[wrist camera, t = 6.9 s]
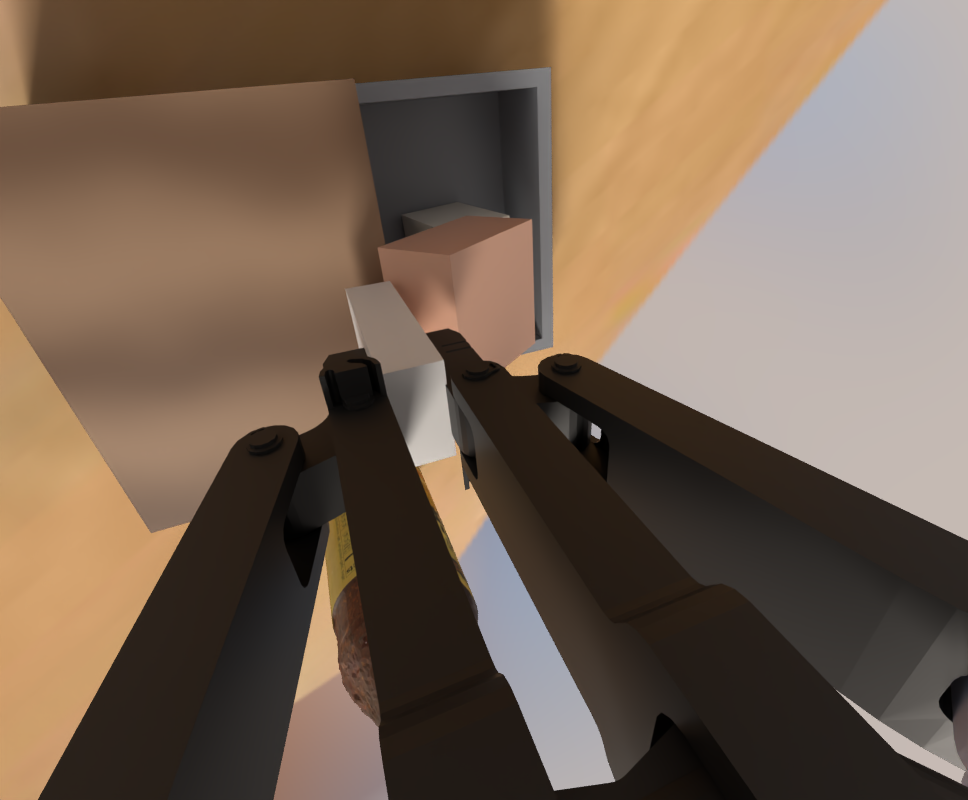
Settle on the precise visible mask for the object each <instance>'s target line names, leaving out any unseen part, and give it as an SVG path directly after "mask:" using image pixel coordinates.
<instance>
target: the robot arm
mask: <svg viewBox="0 0 968 800" xmlns="http://www.w3.org/2000/svg"><path fill="white" fill-rule="evenodd" d="M345 290H346V295H347V299H348V303H349V308H350V312H351V316H352V320H353V325H354V329H355V333H356V338H357V342H358V346H359V349H355V350H350V351H345V352H341V353H336V354H331V355H328V357H327V358H326V360H325V361H324V363H323V369H322V370H321V371H320V373H319V380H320V384H321V387H322V391H323V394H324V398H325V401H326V404H327V408H328V412H329V414H328V416H327V418H326V419H325V420H324V421H323V422H322V423H320V424H319V425H318V426H316V427H315V428H313V429H311V430H309V431H307V432H305V433H302V434H300V435H299V434H298V432H297V431H296V430H295V429H294V428H293V427H289V426H286V425H273V426H268V427H262V428H259V429H257V430H254V431H251V432H249V433H248V434H247V435H245V436H244V437H242V438H241V439H239V440H238V441H237V442H236V443H235V444H234V445H233V447H232V448H231V450H230V451H229V453H228V455H227V457H226V459H225V460H224V462H223V464H222V466H221V468H220V470H219V471H218V473H217V475H216V477H215V479H214V480H213V482H212V484H211V486H210V488H209V490H208V491H207V493H206V495H205V497H204V499H203V500H202V502H201V504H200V506H199V508H198V510H197V511H196V513H195V515H194V517H193V519H192V520H191V522H190V524H189V526H188V528H187V530H186V531H185V533H184V535H183V537H182V539H181V540H180V542H179V544H178V546H177V548H176V550H175V551H174V553H173V555H172V557H171V559H170V560H169V562H168V564H167V566H166V568H165V570H164V571H163V573H162V575H161V577H160V579H159V580H158V582H157V584H156V586H155V588H154V590H153V591H152V593H151V595H150V597H149V599H148V600H147V602H146V604H145V606H144V608H143V610H142V611H141V613H140V615H139V617H138V619H137V620H136V622H135V624H134V626H133V628H132V630H131V631H130V633H129V635H128V637H127V639H126V640H125V642H124V644H123V646H122V648H121V650H120V651H119V653H118V655H117V657H116V659H115V660H114V662H113V664H112V666H111V668H110V670H109V671H108V673H107V675H106V677H105V679H104V680H103V682H102V684H101V686H100V688H99V690H98V691H97V693H96V695H95V697H94V699H93V700H92V702H91V704H90V706H89V708H88V709H87V711H86V713H85V715H84V717H83V719H82V720H81V722H80V724H79V726H78V728H77V729H76V731H75V733H74V735H73V737H72V739H71V740H70V742H69V744H68V746H67V748H66V749H65V751H64V753H63V755H62V757H61V759H60V760H59V762H58V764H57V766H56V768H55V769H54V771H53V773H52V775H51V777H50V779H49V780H48V782H47V784H46V786H45V788H44V789H43V791H42V793H41V795H40V797H39V799H38V800H273V799H274V794H275V789H276V784H277V780H278V775H279V770H280V765H281V761H282V756H283V751H284V746H285V742H286V737H287V732H288V728H289V723H290V718H291V713H292V708H293V704H294V699H295V694H296V690H297V685H298V680H299V675H300V671H301V666H302V661H303V656H304V652H305V647H306V642H307V637H308V633H309V628H310V623H311V618H312V614H313V609H314V604H315V599H316V595H317V590H318V585H319V580H320V576H321V571H322V566H323V561H324V557H325V552H326V547H327V542H328V538H329V533H330V527H329V521H331V520H333V519H335V518H336V517H338V516H340V515H342V514H343V513H345V512H346V517H347V523H348V529H349V534H350V540H351V546H352V552H353V558H354V564H355V569H356V575H357V581H358V587H359V593H360V598H361V604H362V610H363V616H364V622H365V627H366V633H367V639H368V645H369V651H370V657H371V662H372V668H373V674H374V680H375V686H376V691H377V697H378V703H379V710H380V719H381V722H380V725H379V741H380V748H381V755H382V761H383V768H384V774H385V780H386V786H387V793H388V799H389V800H968V540H966V539H963V538H961V537H959V536H957V535H955V534H953V533H951V532H949V531H947V530H945V529H942V528H940V527H938V526H936V525H934V524H932V523H930V522H928V521H926V520H924V519H922V518H919V517H918V516H915V515H913V514H911V513H909V512H907V511H905V510H903V509H901V508H899V507H897V506H895V505H892V504H890V503H888V502H886V501H884V500H882V499H880V498H878V497H876V496H874V495H872V494H869V493H867V492H865V491H863V490H861V489H859V488H857V487H855V486H853V485H851V484H849V483H846V482H844V481H842V480H840V479H838V478H836V477H834V476H832V475H830V474H827V473H826V472H824V471H821V470H819V469H817V468H815V467H813V466H811V465H809V464H807V463H805V462H803V461H800V460H798V459H796V458H794V457H792V456H790V455H788V454H786V453H784V452H782V451H780V450H778V449H775V448H773V447H771V446H769V445H767V444H765V443H763V442H761V441H759V440H757V439H755V438H753V437H750V436H748V435H746V434H744V433H742V432H740V431H738V430H736V429H734V428H732V427H730V426H727V425H725V424H723V423H721V422H719V421H717V420H715V419H713V418H711V417H709V416H707V415H705V414H702V413H700V412H698V411H696V410H694V409H692V408H690V407H688V406H686V405H684V404H682V403H679V402H677V401H675V400H673V399H671V398H669V397H667V396H665V395H663V394H660V393H659V392H657V391H654V390H652V389H650V388H648V387H646V386H644V385H642V384H640V383H638V382H636V381H634V380H631V379H629V378H627V377H625V376H623V375H621V374H618V373H617V372H615V371H613V370H611V369H608V368H606V367H604V366H602V365H600V364H598V363H596V362H594V361H592V360H590V359H588V358H585V357H582V356H579V355H572V354H569V353H563V354H556V355H554V356H550V357H547V358H545V359H544V360H542V361H541V362H540V364H539V365H538V375H532V376H511V375H510V374H509V372H508V371H507V370H506V369H505V368H504V367H503V366H501V365H500V364H498V363H496V362H492V361H483V360H482V358H481V357H480V356H479V355H478V354H477V353H476V351H475V350H474V349H473V348H472V347H471V345H470V344H469V343H468V342H466V339H465V338H464V337H463V336H462V335H461V334H460V333H459V332H456V331H454V330H451V329H449V328H447V329H442V330H438V331H433V332H428V333H425V332H424V330H423V329H422V327H421V326H420V324H419V323H418V321H417V320H416V318H415V317H414V316H413V314H412V313H411V311H410V310H409V308H408V307H407V305H406V304H405V302H404V301H403V299H402V298H401V296H400V295H399V293H398V292H397V291H396V289H395V288H394V286H393V285H392V283H391V282H390V281H386V282H381V283H375V284H370V285H364V286H359V287H353V288H348V289H345ZM592 423H593V424H595V425H597V426H598V427H599V428H600V429H601V438H600V439H597V438H595V437H594V436H592V435H591V425H592ZM454 439H455V440H454ZM455 441H456V443H457V444H458V446H459V448H460V454H461V462H462V469H463V477H464V485H465V490H467V489H470V488H469V481H470V482H471V484H472V486H473V488H474V490H475V491H476V493H477V495H478V497H479V499H480V501H481V503H482V505H483V507H484V509H485V511H486V513H487V515H488V516H489V518H490V520H491V522H492V524H493V526H494V528H495V530H496V532H497V534H498V536H499V537H500V539H501V541H502V543H503V545H504V547H505V549H506V551H507V553H508V555H509V557H510V559H511V561H512V562H513V564H514V566H515V568H516V570H517V572H518V574H519V576H520V578H521V580H522V581H523V584H524V585H525V587H526V589H527V591H528V593H529V595H530V597H531V599H532V601H533V602H534V604H535V606H536V608H537V610H538V612H539V614H540V616H541V618H542V620H543V622H544V624H545V626H546V628H547V630H548V632H549V633H550V635H551V637H552V639H553V641H554V642H555V645H556V647H557V649H558V651H559V652H560V655H561V657H562V658H563V660H564V662H565V664H566V666H567V668H568V670H569V672H570V674H571V676H572V678H573V679H574V681H575V683H576V685H577V687H578V689H579V691H580V693H581V695H582V697H583V699H584V700H585V703H586V704H587V706H588V708H589V710H590V712H591V714H592V716H593V718H594V720H595V722H596V724H597V726H598V729H599V731H600V734H601V737H602V740H603V744H604V748H605V752H606V756H607V759H608V763H609V765H610V768H611V771H612V773H613V776H614V779H615V782H611V783H605V784H599V785H591V786H584V787H577V788H570V789H564V790H557V791H554V790H553V788H552V785H551V783H550V780H549V778H548V775H547V773H546V770H545V768H544V766H543V763H542V761H541V758H540V756H539V753H538V751H537V749H536V746H535V744H534V741H533V739H532V736H531V734H530V732H529V729H528V727H527V724H526V722H525V719H524V717H523V714H522V712H521V710H520V707H519V705H518V702H517V700H516V698H515V696H514V693H513V691H512V689H511V687H510V685H509V683H508V681H507V680H506V678H505V676H504V675H503V674H501V673H498V671H497V670H496V668H495V666H494V664H493V661H492V659H491V657H490V654H489V652H488V649H487V647H486V644H485V641H484V639H483V636H482V634H481V631H480V629H479V626H478V624H477V621H476V619H475V616H474V614H473V611H472V608H471V606H470V603H469V601H468V598H467V596H466V593H465V591H464V588H463V586H462V583H461V581H460V578H459V576H458V573H457V571H456V568H455V565H454V563H453V560H452V558H451V555H450V553H449V550H448V548H447V545H446V543H445V540H444V538H443V535H442V533H441V530H440V528H439V525H438V522H437V520H436V517H435V515H434V512H433V510H432V507H431V505H430V502H429V500H428V497H427V495H426V492H425V490H424V487H423V484H422V482H421V479H420V477H419V474H418V472H417V469H416V467H417V466H420V465H424V464H427V463H431V462H434V461H438V460H441V459H445V458H448V457H452V456H455V455H456V448H455ZM833 687H834V688H835V689H836V690H837V691H839V692H840V693H841V694H843V695H844V696H846V697H847V698H848V699H850V700H851V701H853V702H854V703H856V704H857V705H858V706H860V707H861V708H862V709H864V710H865V711H866V712H868V713H869V714H871V715H872V716H873V717H875V718H876V719H878V720H879V721H881V722H882V723H884V724H885V725H887V726H889V727H890V728H892V729H893V730H895V731H897V732H898V733H900V734H901V735H903V736H905V737H906V738H908V739H909V740H911V741H912V742H914V743H916V744H917V745H919V746H920V747H922V748H924V749H926V750H927V751H929V752H931V753H933V754H935V755H937V756H938V757H940V758H942V759H944V760H946V761H948V762H949V763H951V764H953V765H955V766H957V767H959V768H961V769H962V770H964V771H966V772H965V773H964V776H963V779H962V784H960V783H958V782H956V781H954V780H952V779H950V778H948V777H946V776H944V775H942V774H940V773H938V772H936V771H934V770H931V769H929V768H927V767H925V766H923V765H921V764H919V763H917V762H915V761H913V760H911V759H909V758H907V757H905V756H903V755H901V754H899V753H897V752H895V751H894V749H893V748H892V747H891V746H890V745H889V744H888V743H887V742H886V741H885V740H884V739H883V738H882V737H881V736H880V735H879V734H878V733H877V732H876V731H875V730H874V729H873V728H872V727H871V726H870V725H869V724H868V723H867V722H866V721H865V719H864V718H863V717H862V716H860V714H859V713H858V712H857V711H856V710H855V709H854V708H853V707H852V706H851V705H850V704H849V703H848V702H847V701H846V700H845V699H844V698H843V697H842V696H841V695H840V694H839V693H838V692H837V691H836V690H835V689H834V688H833Z"/></svg>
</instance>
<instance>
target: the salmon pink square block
mask: <svg viewBox="0 0 968 800" xmlns="http://www.w3.org/2000/svg"><path fill="white" fill-rule="evenodd" d="M378 253H379V258H380V264H381V269H382V274H383V279H384V282H386V281H390V282H391V283H392V285H393V286H394V288H395V289H396V291H397V292H398V293H399V295H400V296H401V298H402V299H403V301H404V302H405V304H406V305H407V307H408V308H409V310H410V311H411V313H412V314H413V316H414V317H415V318H416V320H417V321H418V323H419V324H420V326H421V327H422V329H423V330H424V332H425V333H428V332H433V331H438V330H442V329H447V328H449V329H451V330H454V331H456V332H459V333H460V334H461V335H462V336H463V337H464V338H465V339H466V342H468V343H469V344H470V345H471V347H472V348H473V349H474V350H475V351H476V353H477V354H478V355H479V356H480V357H481V358H482V360H483V361H492V362H496V363H498V364H500V365H501V366H503V367H504V368H505V367H506V366H507V365H509V364H510V363H511V362H512V361H514V360H515V359H516V358H517V357H519V356H520V355H521V354H522V353H524V352H525V351H526V350H527V349H528V348H530V347H531V346H532V345H533V344H535V315H534V275H533V235H532V219H521V218H502V217H483V216H464V217H461V218H458V219H455V220H453V221H450V222H447V223H444V224H442V225H439V226H436V227H433V228H430V229H428V230H425V231H422V232H419V233H417V234H414V235H411V236H408V237H405V238H403V239H400V240H397V241H394V242H392V243H389V244H386V245H383V246H381V247H378Z"/></svg>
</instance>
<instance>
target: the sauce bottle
mask: <svg viewBox="0 0 968 800" xmlns="http://www.w3.org/2000/svg"><path fill="white" fill-rule="evenodd" d="M416 469H417V472H418V474H419V477H420V479H421V482H422V484H423V487H424V490H425V492H426V495H427V497H428V500H429V502H430V505H431V507H432V510H433V512H434V515H435V517H436V520H437V522H438V525H439V528H440V530H441V533H442V535H443V538H444V540H445V543H446V545H447V548H448V550H449V553H450V555H451V558H452V560H453V563H454V565H455V568H456V571H457V573H458V576H459V578H460V581H461V583H462V586H463V588H464V591H465V593H466V596H467V598H468V601H469V603H470V606H471V608H472V611H473V614H474V616H475V619H476V621H477V624H478V610H477V605H476V603H475V600H474V597H473V595H472V593H471V590H470V588H469V586H468V583H467V581H466V578H465V576H464V574H463V571H462V569H461V567H460V564H459V562H458V559H457V557H456V554H455V552H454V550H453V547H452V545H451V543H450V540H449V538H448V535H447V533H446V531H445V528H444V525H443V523H442V521H441V518H440V516H439V514H438V511H437V509H436V507H435V504H434V502H433V499H432V497H431V495H430V492H429V490H428V488H427V485H426V483H425V480H424V478H423V476H422V473H421V471H420V469H419V468H418V466H417V467H416ZM329 527H330V533H329V538H328V542H327V547H326V552H325V557H326V566H327V575H328V585H329V595H330V605H331V615H332V624H333V629H334V632H335V635H336V637H337V641H338V644H337V645H338V663H339V670H340V671H341V675H342V682H343V685H344V687H345V688H346V691H347V692H349V695H350V697H351V698H352V700H353V701H354V702H355V703H356V704H357V705H358V706H359V707H360V708H361V710H362V712H363V713H364V714H365V715H367V716H369V717H370V718H371V719H372V720H373V721H374V722H375V724H376V725H377V726H378V727H379V725H380V722H381V719H380V710H379V703H378V697H377V691H376V686H375V680H374V674H373V668H372V662H371V657H370V651H369V645H368V639H367V633H366V627H365V622H364V616H363V610H362V604H361V598H360V593H359V587H358V581H357V575H356V569H355V564H354V558H353V552H352V546H351V540H350V534H349V529H348V523H347V517H346V512H345V513H343V514H342V515H340V516H338V517H336V518H335V519H333V520H331V521H329Z"/></svg>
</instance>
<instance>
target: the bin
mask: <svg viewBox="0 0 968 800" xmlns="http://www.w3.org/2000/svg"><path fill="white" fill-rule="evenodd" d="M355 85H356V91H357V96H358V101H359V107H360V112H361V117H362V123H363V128H364V133H365V139H366V144H367V149H368V155H369V160H370V165H371V171H372V176H373V181H374V187H375V192H376V197H377V203H378V208H379V213H380V219H381V224H382V229H383V235H384V240H385V245H386V244H389V243H392V242H394V241H397V240H400V239H403V238H405V237H406V236H405V231H404V226H403V221H402V216H401V215H402V214H406V213H411V212H415V211H420V210H424V209H428V208H433V207H437V206H442V205H446V204H450V203H455V202H459V203H463V204H467V205H471V206H475V207H479V208H483V209H487V210H490V211H494V212H498V213H502V214H506V215H509V217H510V218H521V219H532V235H533V275H534V315H535V344H533V345H532V346H531V347H530V348H528V349H527V350H526V351H525V352H524V353H522V354H526V353H530V352H534V351H538V350H542V349H546V348H550V347H553V269H552V141H551V67H547V68H535V69H523V70H511V71H499V72H487V73H475V74H463V75H451V76H439V77H427V78H415V79H403V80H392V81H380V82H368V83H356V84H355ZM522 354H521V355H522Z"/></svg>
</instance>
